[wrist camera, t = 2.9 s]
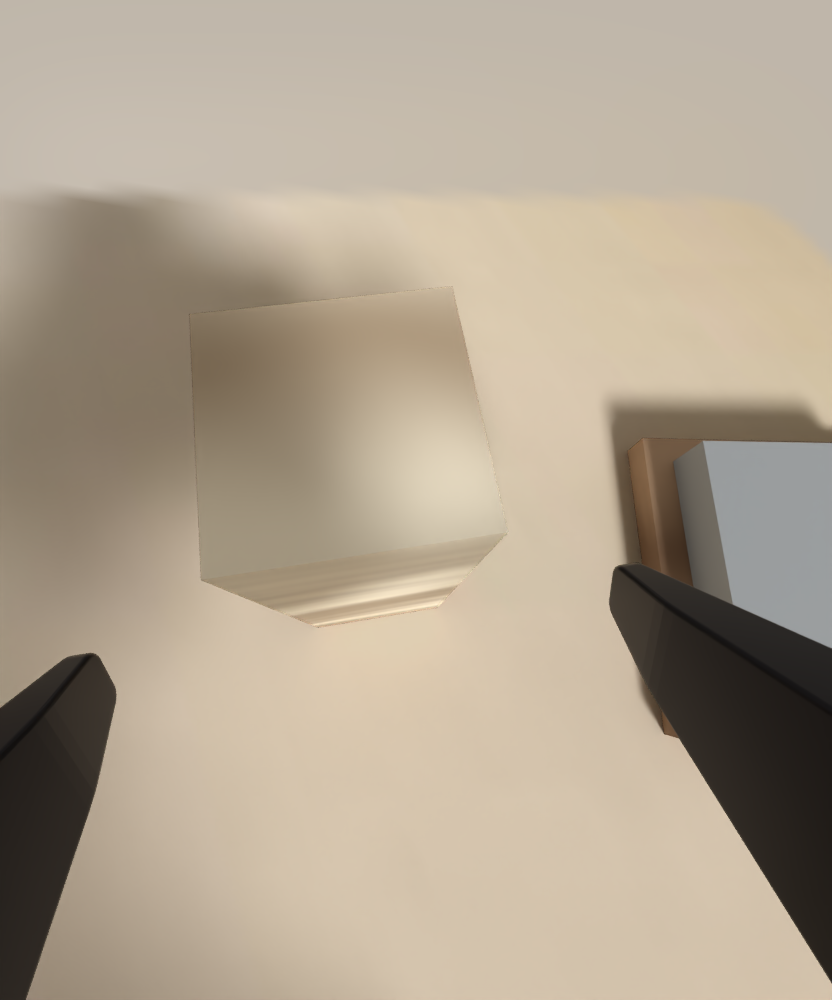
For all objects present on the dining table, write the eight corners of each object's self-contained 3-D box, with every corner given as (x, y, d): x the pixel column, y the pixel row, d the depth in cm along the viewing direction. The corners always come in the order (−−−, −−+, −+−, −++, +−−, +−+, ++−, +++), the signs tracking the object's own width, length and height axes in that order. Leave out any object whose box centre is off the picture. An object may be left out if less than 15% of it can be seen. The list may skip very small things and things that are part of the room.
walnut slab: (938, 732, 19) (999, 740, 17) (655, 731, 19) (685, 739, 17) (863, 462, 22) (907, 444, 20) (621, 457, 22) (642, 438, 20)
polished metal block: (437, 607, 19) (508, 531, 8) (318, 627, 19) (201, 579, 7) (417, 495, 20) (451, 286, 9) (305, 512, 20) (189, 314, 8)
